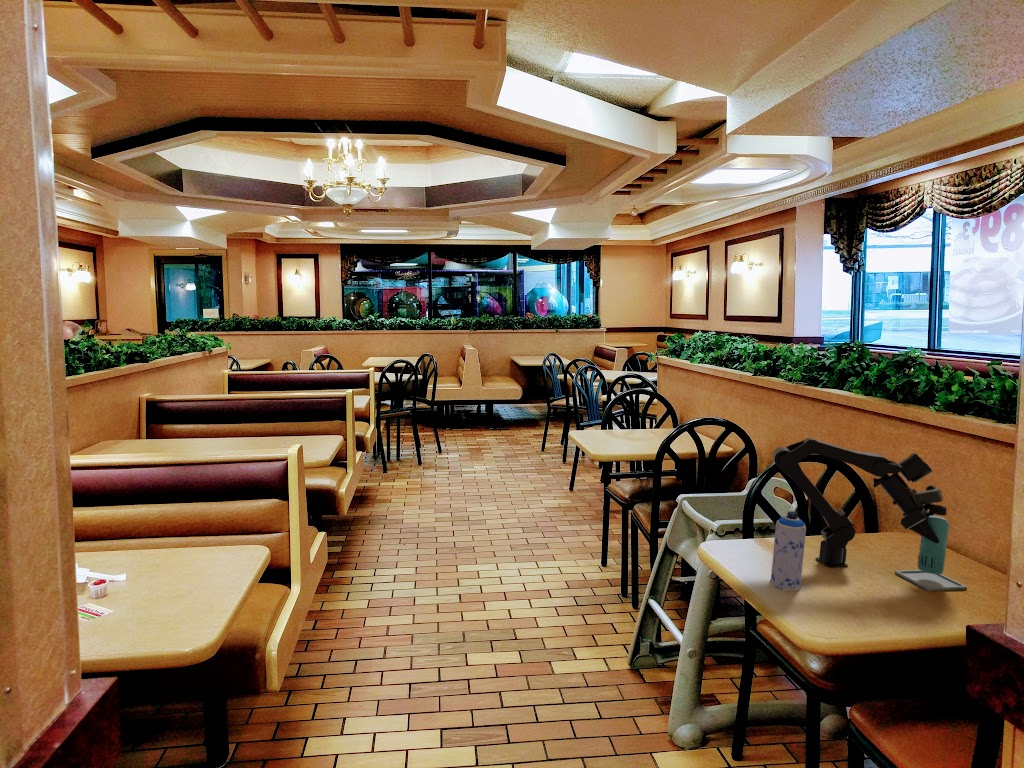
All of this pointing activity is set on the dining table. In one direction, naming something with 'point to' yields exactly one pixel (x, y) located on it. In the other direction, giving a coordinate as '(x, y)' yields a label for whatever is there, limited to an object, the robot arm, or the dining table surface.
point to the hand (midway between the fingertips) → (940, 539)
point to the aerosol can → (788, 552)
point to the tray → (930, 580)
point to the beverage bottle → (931, 552)
